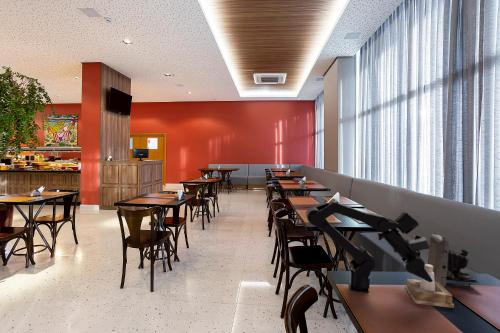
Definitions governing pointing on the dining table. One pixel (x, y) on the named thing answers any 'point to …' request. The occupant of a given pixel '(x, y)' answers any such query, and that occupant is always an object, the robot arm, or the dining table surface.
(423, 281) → the pepper shaker
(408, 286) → the socket holder
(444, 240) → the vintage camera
